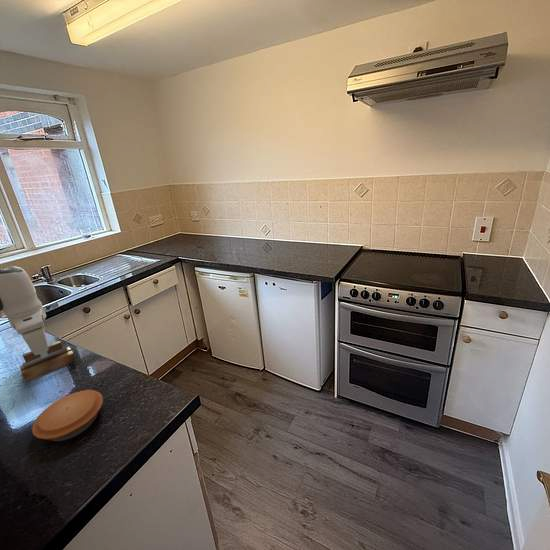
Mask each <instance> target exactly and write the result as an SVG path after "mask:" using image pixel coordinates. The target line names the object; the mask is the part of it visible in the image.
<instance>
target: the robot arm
mask: <svg viewBox="0 0 550 550" xmlns="http://www.w3.org/2000/svg"><path fill="white" fill-rule="evenodd" d="M0 312H3V313H4V314H5V316H6V319H7V320H8V322H9V324H10V326H11V328H12V329H14V330H15V331H16V333H17V334H18V335H21V337H22V339H23V341H24V342H25V344H26V345H27V347H28V348H29V350H30V352H31V351H32V352H33V354H34V355H38V354H40V355H41V357H42V358H44V357H47V356H48V353H47V351H48V350H49V348H48V345H49V342H48V340H47V336H46V332H45V325H46V323H45V322H46V318H47V314H46V311H45V309H44V306H43V304H42V302H41V300H40V299H39V298H38V296H37V290H36V288H35V285H34V283H33V281H32V280H31V278H30V276H29V274H28V273H27V271H25V270H24V268H22V267H18V266H11V265H10V266H8V265H7V266H2V267H0Z"/></svg>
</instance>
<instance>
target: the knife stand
mask: <svg viewBox="0 0 550 550" xmlns="http://www.w3.org/2000/svg"><path fill="white" fill-rule="evenodd" d="M67 350H68V352H67V353H65V354H62V355H60V356H57V357H55V358H52V359H50V360H47V361H45V362H42V363H40V364H37V365H35V366H32V367H30V368H28V369H24V367H23V365H20V366H19V369H20V375H21V377H22V379H23V381H24V383H27V382H30V381H32V380H34V379H36V378H40V377H41V376H44V375H46V374H48V373H50V372H53V371H55V370H58V369H60V368H63V367H65V366H67V365H69V364H72V363H74V362H76V361H77V358H76V357H75V354H74V352H73V349H72V348H71V346H68V347H67Z"/></svg>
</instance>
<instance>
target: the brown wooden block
mask: <svg viewBox="0 0 550 550" xmlns="http://www.w3.org/2000/svg"><path fill="white" fill-rule="evenodd" d="M48 348H49V350H48V351H47V353H48V356H47V357H44V358H42V357H41V355H40V354H38V355H34V354H33V352H32V351H31V350H30V351H29V352H27V353H24V354H22V358H23V360H24V362H22V363H21V364H22V365H23V367H24V369H28V368H30V367H32V366H35V365H37V364H40V363H42V362H45V361H47V360H50V359H52V358H55V357H57V356H60V355H62V354H65V353H67V352H68V350H67V348H68V347H67V346H63V345H62V342H61V341H60V340H58V341H55V342H53V343H50V344H48ZM22 365H21V366H22Z"/></svg>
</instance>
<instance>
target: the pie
mask: <svg viewBox="0 0 550 550" xmlns="http://www.w3.org/2000/svg"><path fill="white" fill-rule="evenodd" d="M103 404H104V396H103V395H102V393H101V392H99V391H97V390H93V389H85V390H80V391H76V392H73V393H71V394H68V395H65V396H63V397H61V398H60V399H58V400H56V401H54V402H52V403H51V404H50V405H49V406H47V407H46V408H45V409H44V410H42V411H41V413H40V414H39V415H38V416H37V417H36V419H35V420H34V422H33V424H32V427H31V431H32V435H33V436H34V437H35V438H37V439H41V440H48V441H52V442H64V441H68V440H70V439H73V438H74V437H77V436H78V435H79V436H80V435H81V434H82V433H83V432H85V431H87V429H89V428H90V427H91V426H92V425H93V423H94V422H95V421H96V419H97V417H98V415H99V412H100V411H101V408H102V406H103Z"/></svg>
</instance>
